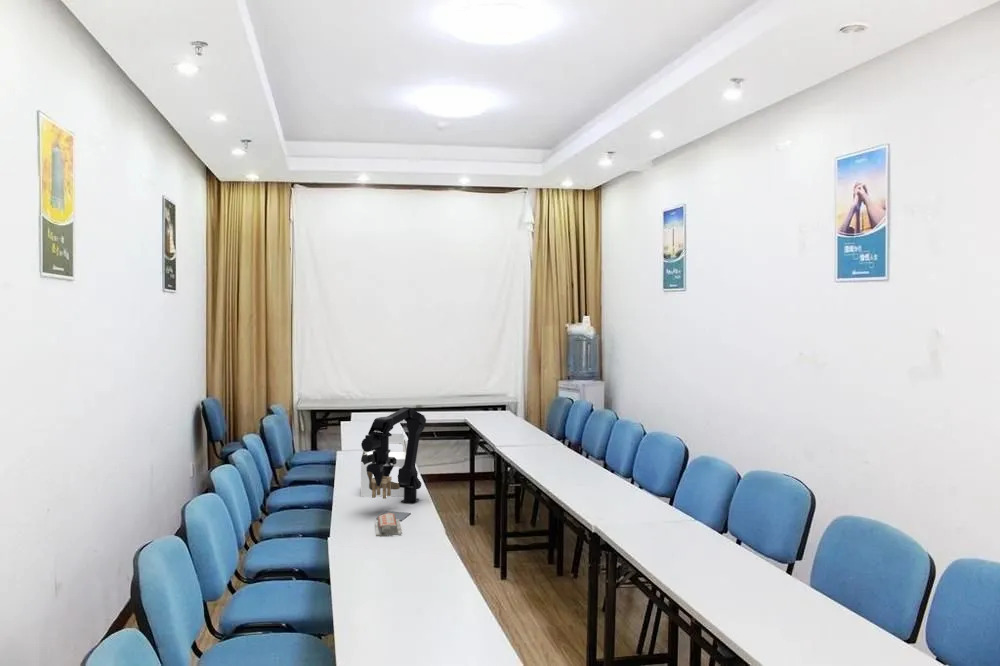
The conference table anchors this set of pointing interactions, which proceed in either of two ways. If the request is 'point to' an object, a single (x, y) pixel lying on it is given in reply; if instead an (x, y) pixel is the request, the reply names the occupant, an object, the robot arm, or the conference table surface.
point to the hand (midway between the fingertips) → (381, 484)
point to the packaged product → (388, 525)
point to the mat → (397, 514)
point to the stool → (384, 480)
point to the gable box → (400, 460)
